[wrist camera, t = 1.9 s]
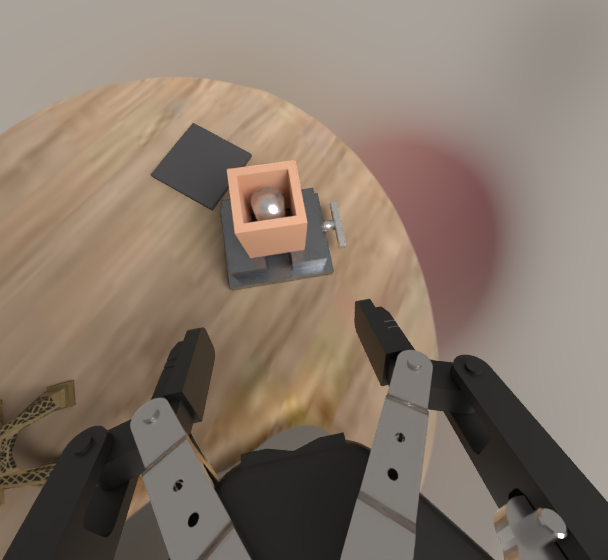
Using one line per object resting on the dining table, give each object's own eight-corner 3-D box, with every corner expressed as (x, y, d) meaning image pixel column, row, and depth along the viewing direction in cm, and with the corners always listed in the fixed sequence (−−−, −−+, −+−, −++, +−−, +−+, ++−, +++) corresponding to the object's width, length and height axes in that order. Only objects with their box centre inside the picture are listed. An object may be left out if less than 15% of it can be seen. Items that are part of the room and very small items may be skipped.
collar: (250, 258, 27) (234, 233, 20) (243, 208, 28) (226, 169, 21) (304, 249, 27) (307, 222, 20) (295, 200, 29) (295, 160, 22)
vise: (232, 290, 31) (200, 270, 20) (223, 212, 33) (190, 158, 22) (345, 271, 32) (368, 243, 21) (329, 197, 34) (343, 139, 23)
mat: (152, 176, 34) (150, 174, 33) (194, 125, 35) (193, 122, 35) (212, 210, 33) (211, 208, 32) (251, 156, 35) (251, 153, 34)
